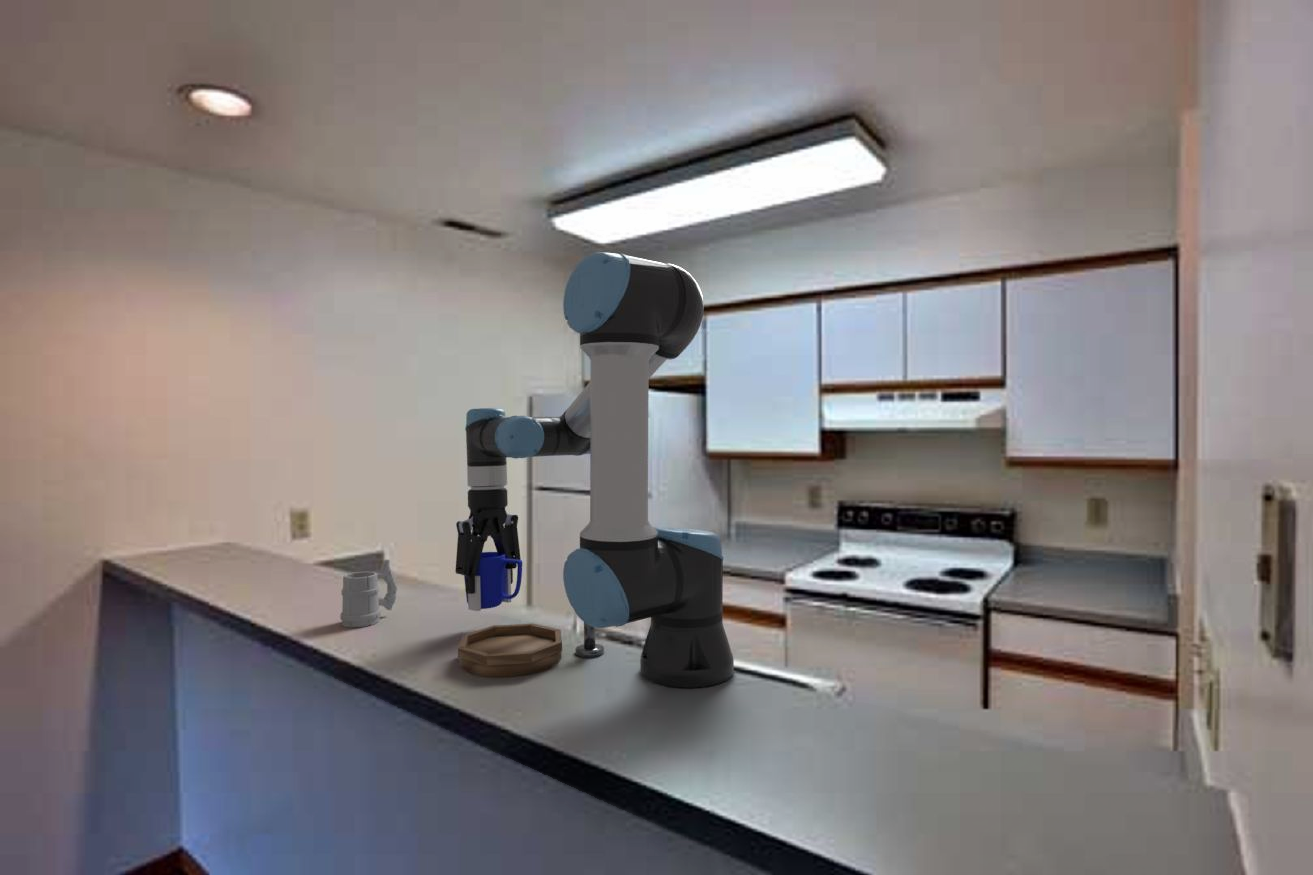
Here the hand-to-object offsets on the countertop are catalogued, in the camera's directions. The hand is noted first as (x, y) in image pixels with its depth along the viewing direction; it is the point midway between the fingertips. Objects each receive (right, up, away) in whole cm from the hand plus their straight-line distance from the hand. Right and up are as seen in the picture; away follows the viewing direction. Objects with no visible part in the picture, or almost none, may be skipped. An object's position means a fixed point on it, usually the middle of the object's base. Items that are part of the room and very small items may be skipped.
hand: (490, 605), depth 134 cm
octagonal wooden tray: (+7, -5, -16) cm, 18 cm away
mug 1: (-27, -5, +8) cm, 28 cm away
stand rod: (+21, -5, -13) cm, 25 cm away
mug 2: (+1, -1, 0) cm, 1 cm away
